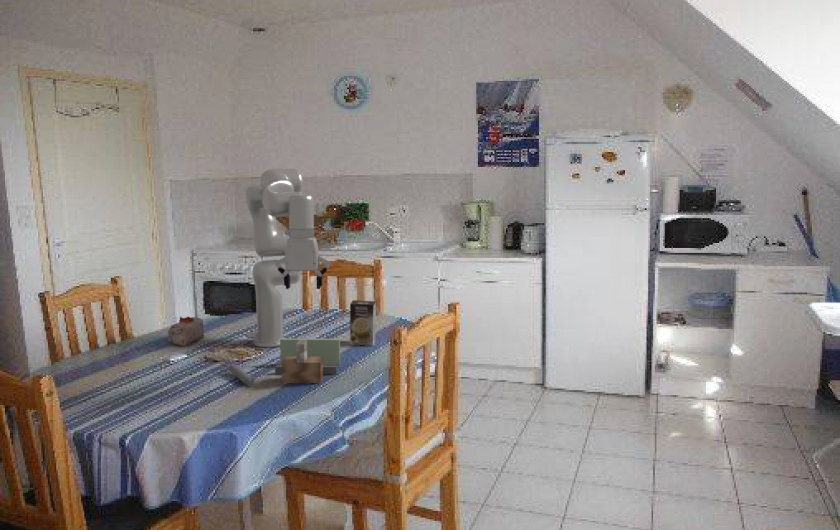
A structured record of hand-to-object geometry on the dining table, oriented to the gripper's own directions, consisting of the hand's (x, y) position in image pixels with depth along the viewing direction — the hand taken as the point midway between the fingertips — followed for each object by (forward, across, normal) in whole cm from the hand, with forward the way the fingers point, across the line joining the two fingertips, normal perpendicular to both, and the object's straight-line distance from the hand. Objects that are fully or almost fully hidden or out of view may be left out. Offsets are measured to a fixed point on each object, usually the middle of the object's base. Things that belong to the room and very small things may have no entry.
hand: (303, 288), depth 209 cm
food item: (+29, -53, +39) cm, 72 cm away
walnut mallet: (+30, -1, -1) cm, 30 cm away
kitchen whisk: (+30, -25, +5) cm, 39 cm away
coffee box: (+29, +14, +40) cm, 52 cm away
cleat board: (+29, -1, +10) cm, 31 cm away
